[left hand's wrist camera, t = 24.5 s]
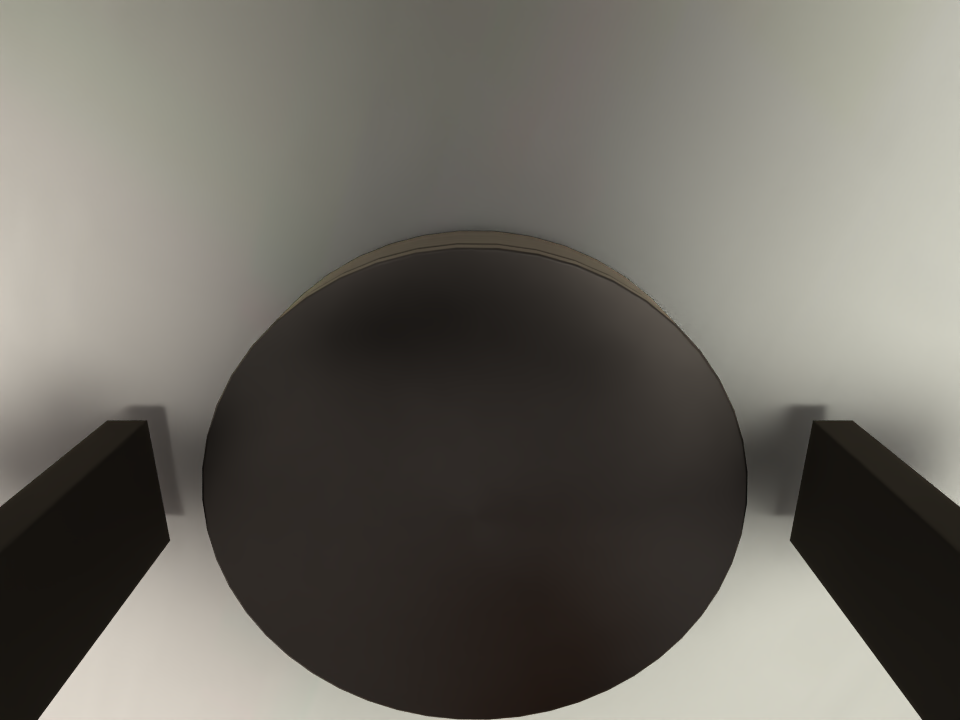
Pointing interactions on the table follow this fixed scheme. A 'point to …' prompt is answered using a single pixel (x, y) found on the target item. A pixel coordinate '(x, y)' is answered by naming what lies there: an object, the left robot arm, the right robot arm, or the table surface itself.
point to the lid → (474, 478)
